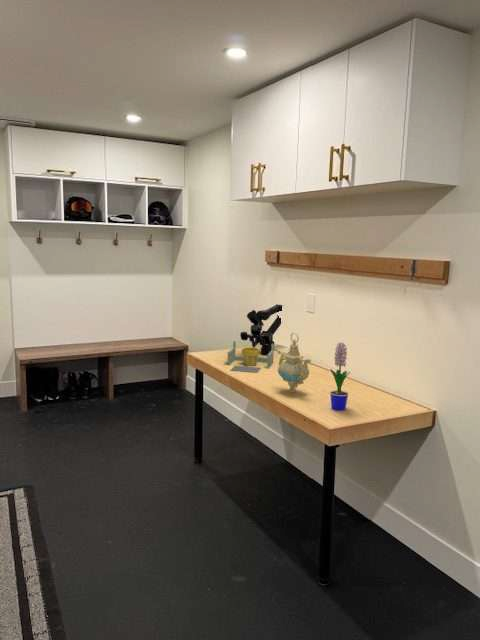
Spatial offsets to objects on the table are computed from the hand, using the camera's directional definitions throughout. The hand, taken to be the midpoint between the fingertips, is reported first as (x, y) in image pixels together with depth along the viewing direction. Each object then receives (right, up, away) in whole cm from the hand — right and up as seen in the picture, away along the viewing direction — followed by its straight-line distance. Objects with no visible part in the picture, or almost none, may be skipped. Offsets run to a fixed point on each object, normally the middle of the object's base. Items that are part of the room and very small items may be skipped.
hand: (253, 347), depth 309 cm
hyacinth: (+36, -23, -86) cm, 96 cm away
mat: (-5, -12, -19) cm, 23 cm away
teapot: (+18, -19, -63) cm, 68 cm away
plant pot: (-2, -10, -7) cm, 13 cm away
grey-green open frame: (-2, -10, -6) cm, 11 cm away
